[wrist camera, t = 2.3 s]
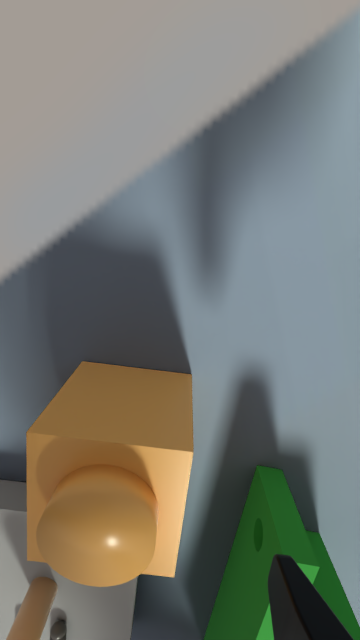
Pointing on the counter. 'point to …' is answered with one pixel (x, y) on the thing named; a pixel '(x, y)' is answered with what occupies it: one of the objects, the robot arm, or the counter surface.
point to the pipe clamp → (256, 558)
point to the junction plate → (52, 589)
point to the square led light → (110, 474)
